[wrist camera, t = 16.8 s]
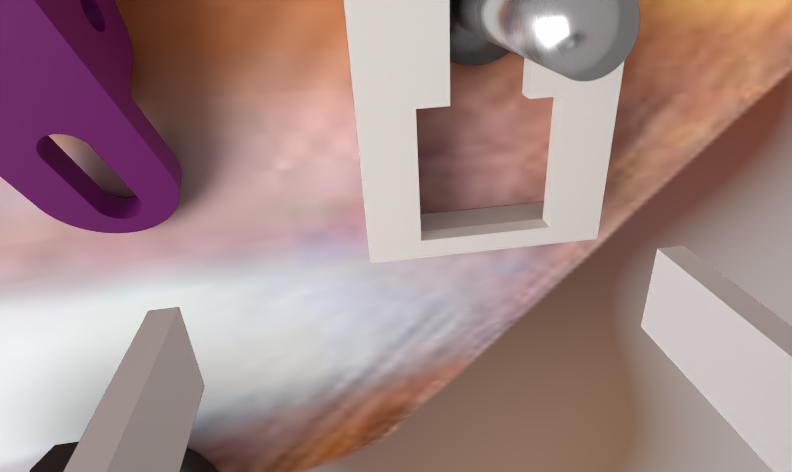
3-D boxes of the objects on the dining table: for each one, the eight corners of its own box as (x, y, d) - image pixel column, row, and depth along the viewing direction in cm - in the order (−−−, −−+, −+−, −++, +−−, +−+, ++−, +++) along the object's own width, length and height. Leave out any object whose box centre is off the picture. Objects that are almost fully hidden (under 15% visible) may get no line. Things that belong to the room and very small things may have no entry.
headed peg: (526, 58, 36) (672, 127, 21) (419, 67, 36) (485, 145, 20) (535, -69, 33) (722, -104, 17) (414, -61, 32) (491, -90, 16)
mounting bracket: (205, 139, 43) (60, -90, 28) (202, 215, 38) (24, -14, 23) (99, 165, 43) (-102, -49, 28) (82, 244, 38) (-172, 35, 23)
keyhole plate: (573, 214, 43) (597, 238, 39) (366, 235, 42) (370, 263, 38) (615, -124, 32) (655, -137, 28) (332, -107, 30) (332, -118, 26)
